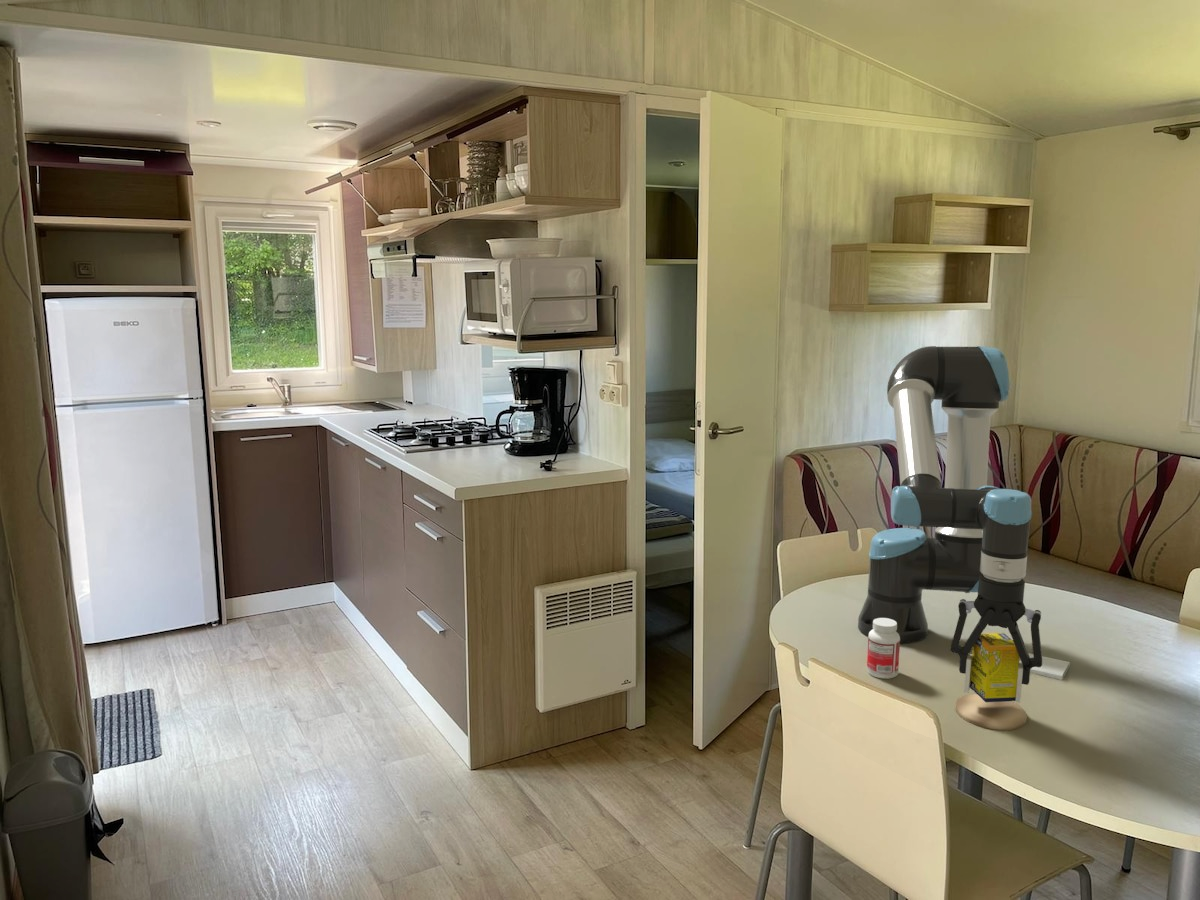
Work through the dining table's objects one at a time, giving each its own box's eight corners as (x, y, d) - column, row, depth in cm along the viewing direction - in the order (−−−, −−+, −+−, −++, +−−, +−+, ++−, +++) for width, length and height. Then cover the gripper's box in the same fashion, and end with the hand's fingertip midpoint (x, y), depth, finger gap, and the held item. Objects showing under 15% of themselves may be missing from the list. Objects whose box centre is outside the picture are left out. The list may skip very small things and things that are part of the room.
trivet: (952, 720, 163) (952, 715, 162) (959, 694, 173) (959, 689, 173) (1024, 735, 157) (1025, 730, 157) (1027, 707, 168) (1027, 702, 167)
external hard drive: (1061, 683, 179) (996, 667, 186) (1069, 668, 185) (1005, 653, 193) (1062, 675, 179) (996, 659, 186) (1070, 661, 185) (1006, 646, 192)
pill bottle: (882, 664, 186) (885, 614, 184) (904, 675, 181) (907, 624, 179) (859, 670, 184) (862, 619, 182) (881, 682, 178) (884, 629, 176)
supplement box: (968, 688, 167) (972, 633, 165) (999, 687, 168) (1003, 632, 166) (984, 703, 161) (989, 646, 159) (1016, 701, 162) (1021, 644, 160)
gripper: (938, 573, 161) (929, 691, 166) (1067, 591, 152) (1055, 715, 156) (943, 562, 168) (935, 675, 172) (1067, 578, 159) (1055, 697, 163)
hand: (992, 694), depth 164 cm, fingers closed on supplement box, 8 cm apart
